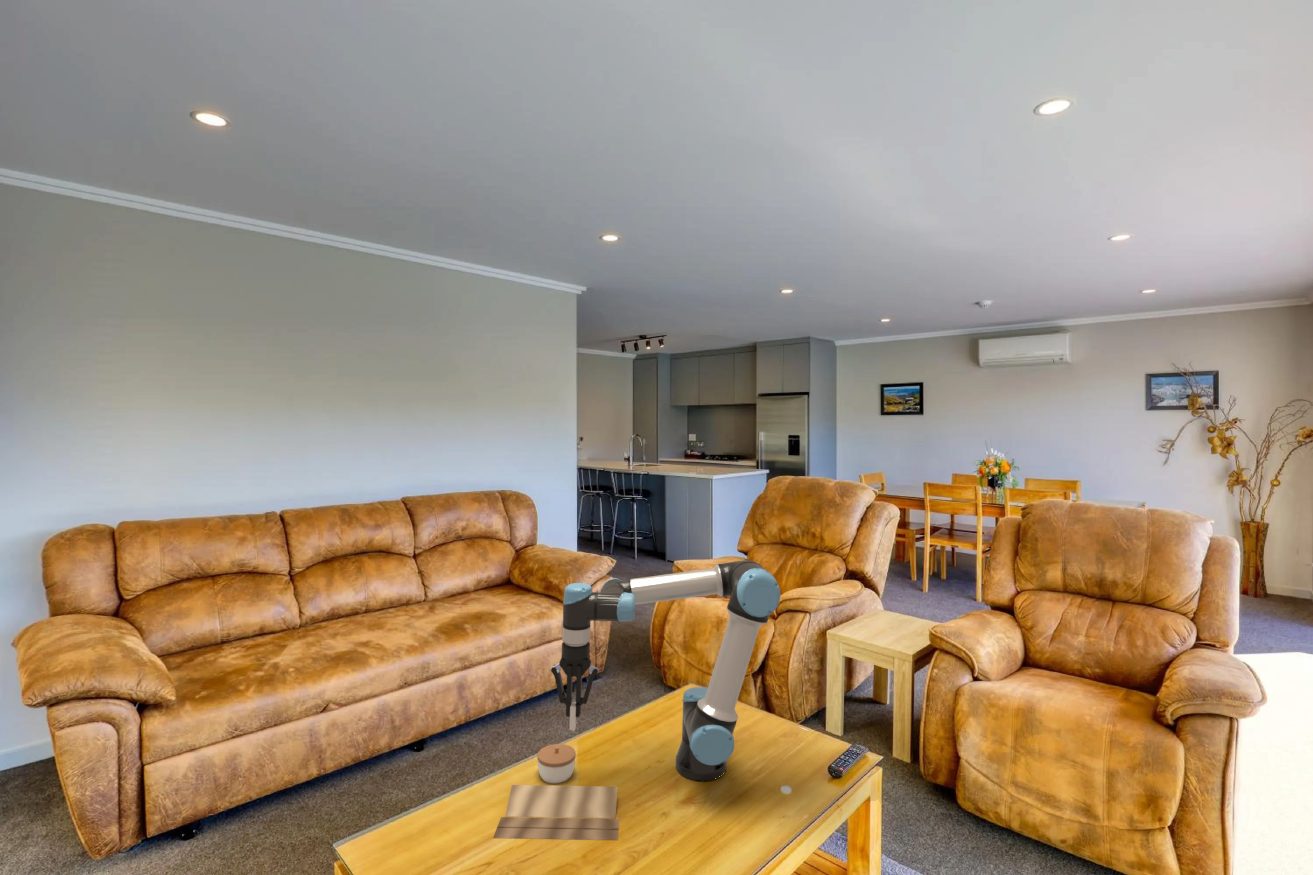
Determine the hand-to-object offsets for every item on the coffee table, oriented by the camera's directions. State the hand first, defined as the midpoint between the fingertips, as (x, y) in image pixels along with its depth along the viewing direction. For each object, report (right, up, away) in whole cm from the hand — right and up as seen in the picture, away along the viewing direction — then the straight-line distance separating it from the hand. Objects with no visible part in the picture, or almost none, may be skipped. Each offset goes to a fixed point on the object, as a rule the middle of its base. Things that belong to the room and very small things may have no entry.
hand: (572, 727), depth 167 cm
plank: (-2, -17, -7) cm, 18 cm away
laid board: (-2, -19, -15) cm, 25 cm away
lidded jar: (-6, -19, +8) cm, 21 cm away
